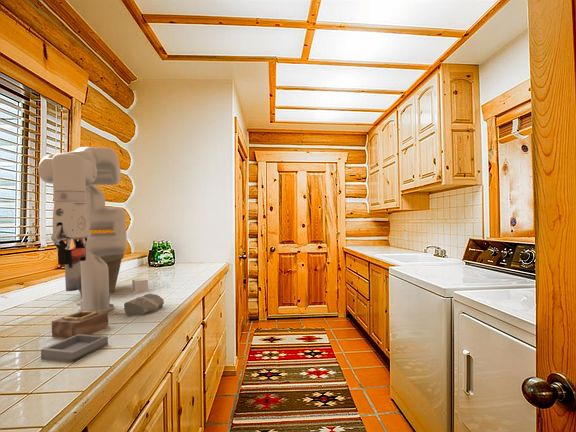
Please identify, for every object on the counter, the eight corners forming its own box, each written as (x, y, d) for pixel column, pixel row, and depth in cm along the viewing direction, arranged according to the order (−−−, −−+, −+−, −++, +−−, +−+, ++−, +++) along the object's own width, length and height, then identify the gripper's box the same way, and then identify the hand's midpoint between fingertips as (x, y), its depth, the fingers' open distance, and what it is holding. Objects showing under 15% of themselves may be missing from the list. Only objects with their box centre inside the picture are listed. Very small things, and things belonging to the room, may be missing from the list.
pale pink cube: (148, 291, 158) (147, 279, 158) (135, 293, 154) (135, 281, 154) (145, 289, 162) (144, 278, 162) (132, 291, 159) (132, 279, 159)
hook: (62, 293, 82) (61, 250, 82) (58, 290, 87) (57, 249, 87) (88, 289, 87) (87, 248, 87) (83, 286, 91) (82, 247, 91)
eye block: (52, 336, 99) (51, 319, 99) (83, 324, 109) (82, 308, 109) (79, 339, 96) (78, 321, 96) (108, 326, 106) (107, 310, 106)
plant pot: (81, 302, 139) (79, 255, 139) (58, 296, 153) (56, 253, 153) (134, 290, 160) (133, 248, 160) (110, 285, 174) (108, 247, 174)
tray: (41, 358, 83) (40, 349, 83) (78, 342, 93) (78, 333, 93) (73, 362, 80) (72, 352, 80) (108, 344, 91) (107, 336, 91)
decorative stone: (145, 306, 130) (145, 292, 130) (167, 307, 129) (167, 292, 129) (124, 316, 117) (123, 300, 117) (148, 317, 116) (147, 301, 116)
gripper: (65, 196, 78) (67, 267, 78) (100, 199, 95) (102, 257, 96) (33, 197, 78) (36, 268, 78) (74, 200, 95) (76, 259, 95)
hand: (72, 262), depth 87 cm, fingers closed on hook, 6 cm apart
